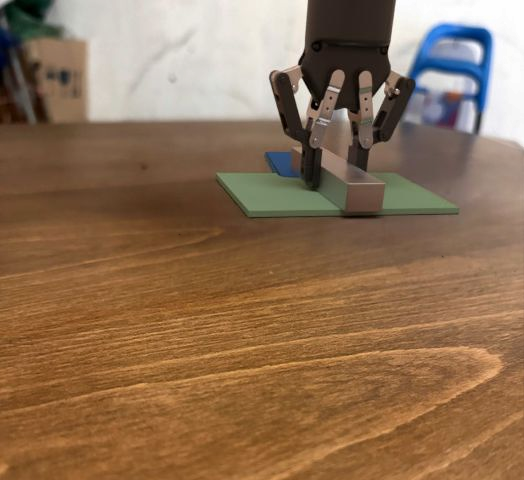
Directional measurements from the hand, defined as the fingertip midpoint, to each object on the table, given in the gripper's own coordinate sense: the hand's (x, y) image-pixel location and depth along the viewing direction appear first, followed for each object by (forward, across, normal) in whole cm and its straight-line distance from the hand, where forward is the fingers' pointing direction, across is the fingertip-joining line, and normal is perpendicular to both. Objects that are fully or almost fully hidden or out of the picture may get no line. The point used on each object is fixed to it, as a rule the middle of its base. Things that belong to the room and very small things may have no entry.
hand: (332, 185), depth 64 cm
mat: (+1, 0, 0) cm, 1 cm away
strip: (0, 0, 0) cm, 0 cm away
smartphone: (+1, +1, +12) cm, 12 cm away
